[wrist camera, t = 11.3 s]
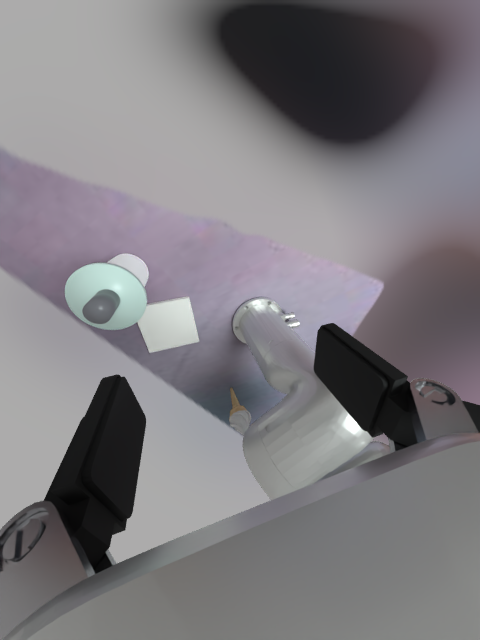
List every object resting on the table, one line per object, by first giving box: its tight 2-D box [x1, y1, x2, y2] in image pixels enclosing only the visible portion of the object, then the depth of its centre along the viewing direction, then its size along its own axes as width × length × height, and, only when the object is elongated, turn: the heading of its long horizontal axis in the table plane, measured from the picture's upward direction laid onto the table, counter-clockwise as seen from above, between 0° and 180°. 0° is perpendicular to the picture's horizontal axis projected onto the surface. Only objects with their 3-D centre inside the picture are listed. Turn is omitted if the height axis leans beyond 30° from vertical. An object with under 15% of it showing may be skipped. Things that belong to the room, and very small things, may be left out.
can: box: [107, 254, 149, 287], centre depth 32 cm, size 6×6×12 cm
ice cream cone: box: [229, 388, 251, 436], centre depth 51 cm, size 6×6×15 cm
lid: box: [65, 262, 147, 330], centre depth 25 cm, size 9×9×5 cm
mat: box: [137, 296, 199, 353], centre depth 43 cm, size 11×11×1 cm
